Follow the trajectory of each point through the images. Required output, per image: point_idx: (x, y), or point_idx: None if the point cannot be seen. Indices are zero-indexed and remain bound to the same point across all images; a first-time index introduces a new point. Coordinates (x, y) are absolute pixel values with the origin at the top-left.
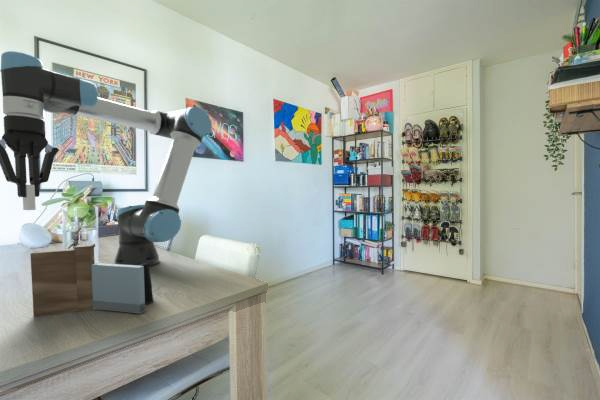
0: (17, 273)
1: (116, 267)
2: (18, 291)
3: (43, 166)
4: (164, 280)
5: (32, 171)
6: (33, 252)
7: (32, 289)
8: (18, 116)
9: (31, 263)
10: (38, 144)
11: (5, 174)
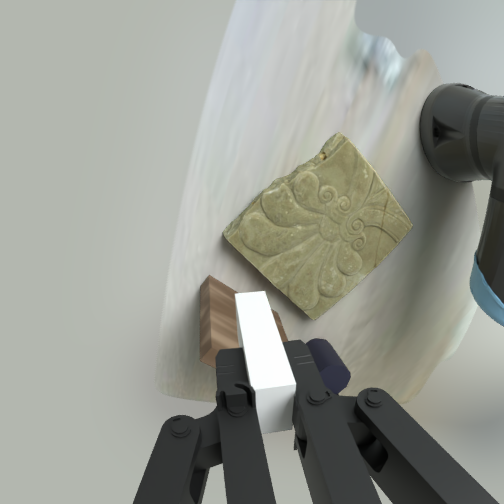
0: None
1: None
2: (232, 87)
3: (414, 497)
4: (399, 293)
5: (314, 496)
6: (207, 355)
7: (200, 312)
8: None
9: (200, 345)
10: None
11: (155, 471)
